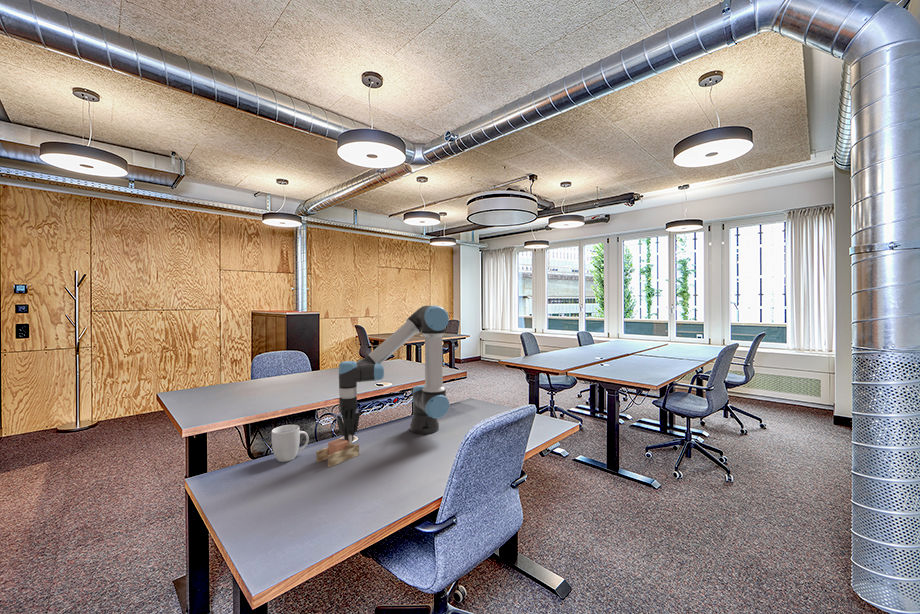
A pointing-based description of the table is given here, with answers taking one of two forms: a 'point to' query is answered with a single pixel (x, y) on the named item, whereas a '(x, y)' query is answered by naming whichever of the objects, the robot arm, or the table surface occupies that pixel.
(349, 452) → the tan boxy piece
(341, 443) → the block
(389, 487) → the table surface
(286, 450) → the mug
